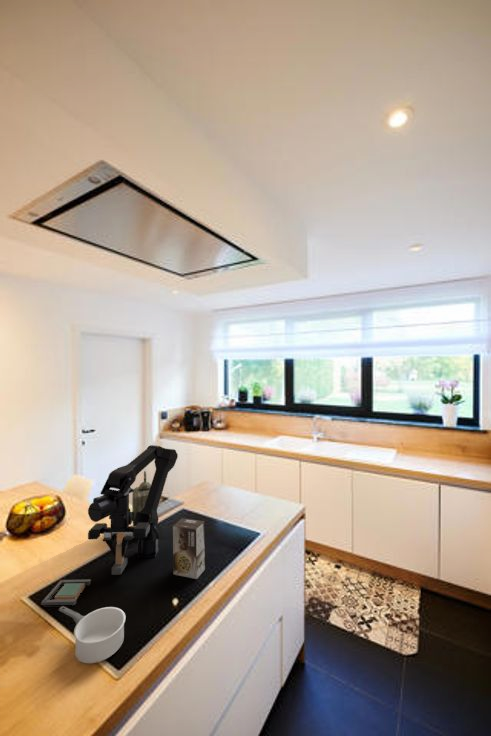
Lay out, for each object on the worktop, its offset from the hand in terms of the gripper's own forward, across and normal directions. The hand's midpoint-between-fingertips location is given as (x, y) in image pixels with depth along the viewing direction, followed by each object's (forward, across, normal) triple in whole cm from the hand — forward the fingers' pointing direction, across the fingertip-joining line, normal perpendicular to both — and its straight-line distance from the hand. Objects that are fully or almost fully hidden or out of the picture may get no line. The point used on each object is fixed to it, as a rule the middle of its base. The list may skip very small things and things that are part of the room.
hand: (119, 556), depth 105 cm
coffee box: (+6, -23, -1) cm, 24 cm away
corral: (+6, +12, +9) cm, 16 cm away
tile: (+6, +12, +9) cm, 16 cm away
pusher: (+4, 0, 0) cm, 4 cm away
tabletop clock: (+6, +1, -31) cm, 32 cm away
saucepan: (+6, -2, +27) cm, 27 cm away
